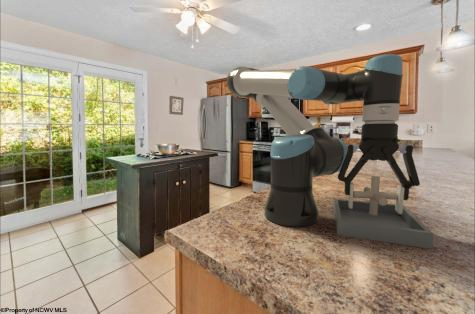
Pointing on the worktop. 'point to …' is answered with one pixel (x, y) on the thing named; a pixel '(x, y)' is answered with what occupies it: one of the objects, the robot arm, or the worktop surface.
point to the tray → (381, 224)
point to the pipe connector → (375, 195)
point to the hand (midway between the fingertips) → (373, 209)
